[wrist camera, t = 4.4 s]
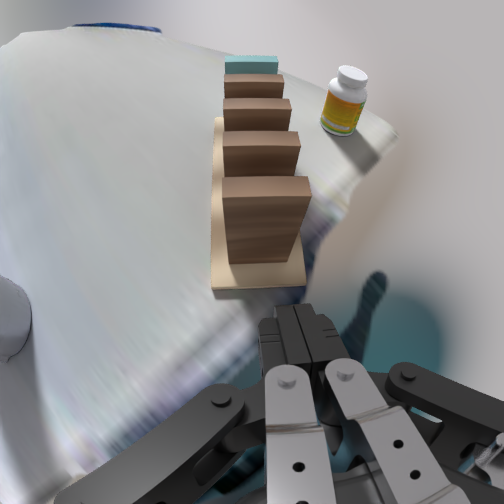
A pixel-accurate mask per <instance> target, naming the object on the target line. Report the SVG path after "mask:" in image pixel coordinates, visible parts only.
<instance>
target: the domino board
mask: <svg viewBox="0 0 504 504" xmlns="http://www.w3.org/2000/svg"><path fill="white" fill-rule="evenodd" d="M223 132H224V117H215V129H214V150H213V175H212V212H211V289H212V290H219V289H247V288H270V287H289V286H305V285H306V283H307V281H306V273H305V265H304V258H303V250H302V243H301V236H300V230H299V232H298V235H297V237H296V240H295V243H294V245H293V248H292V251H291V253H290V256H289V258H288V261H287V262H283V263H257V264H230V265H229V262H228V253H227V244H226V234H225V224H224V214H223V204H222V177H224V163H223V147H222V143H223Z"/></svg>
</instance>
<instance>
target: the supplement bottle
mask: <svg viewBox="0 0 504 504" xmlns="http://www.w3.org/2000/svg"><path fill="white" fill-rule="evenodd" d="M367 80H368V76H367V75H366V74H365V73H364V72H363V71H361V70H360V69H357V68H355V67H352V66H345V65H344V66H340V67H339V69H338V72H337V77H336V78H334V79H332V80H331V81H330V83H329V86H328V90H327V93H326V97H325V101H324V105H323V108H322V112H321V116H320V123H321V125H322V126H323V128H324V129H325V130H327V131H328V132H330V133H332V134H334V135H338V136H348V135H351V134H352V133H353V132H354V130H355V127H356V125H357V122H358V120H359V117H360V114H361V112H362V109H363V107H364V104H365V101H366V98H367V91H366V89H365V88H364V87H365V86H366V83H367Z"/></svg>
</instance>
